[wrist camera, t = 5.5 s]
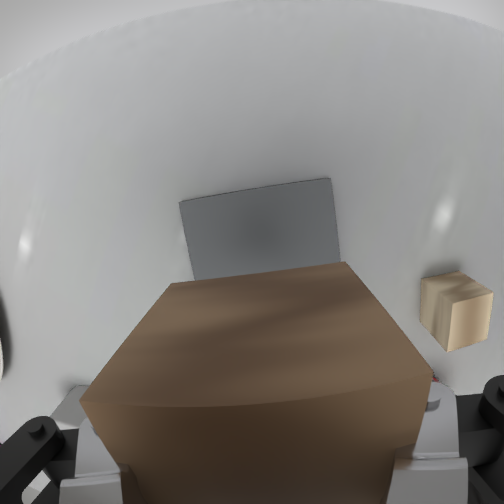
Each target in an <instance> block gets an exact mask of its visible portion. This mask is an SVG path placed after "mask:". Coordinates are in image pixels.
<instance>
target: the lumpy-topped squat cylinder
mask: <svg viewBox="0 0 504 504" xmlns="http://www.w3.org/2000/svg"><path fill="white" fill-rule="evenodd" d="M88 387H89V386H84V385H79V386H76V387H74V388H73V389H72V390H71V391H70V393H69V394H68V395H67V396H66V397H65V399H64V400H63V401H62V402H61V403H60V405H59V406H58V407H57V408H56V409H55V411H54V412H53V413H52V415H51V416H50V417H51V418H52V419H53V420H54V421H55V422H56V424H57V425H58V427H59V429H60V430H66V429H77V428H80V425H81V423H82V422H83V420H84V419H85V418H87V415H86V413H85V411H84V409H83V408H82V406H81V404H80V402H79V399H80V398H81V397H82V395H83V394H84V393H85V391H86V390H87V389H88Z"/></svg>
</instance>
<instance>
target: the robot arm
mask: <svg viewBox="0 0 504 504" xmlns="http://www.w3.org/2000/svg"><path fill="white" fill-rule="evenodd" d="M41 470H43V472H44V473H45V474H46V475H47V476H48V478H49V479H50V480H51V481H50V482H49V483H48V485H47V486H46V487H45V488H44V489H43V490H42V492H41V493H40V494H39V495H38V496H37V498H36V499H35V500H34V501H33V502H32V503H31V504H148V503H147V501H146V500H145V499H144V497H143V495H142V493H141V491H140V488H139V485H138V481H137V476H136V475H135V474H134V472H133V471H132V469H131V468H130V466H129V464H124V463H117V462H115V461H114V460H113V458H112V457H111V455H110V454H109V452H108V451H107V449H106V447H105V446H104V444H103V443H102V441H101V439H100V438H99V436H98V434H97V433H96V431H95V429H94V427H93V426H92V424H91V422H90V420H89V419H88V417H87V418H85V419H84V420H83V422H82V423H81V425H80V428H77V429H66V430H60V429H59V427H58V425H57V424H56V422H55V421H54V420H53V419H52V418H51V417H47V416H39V417H35V418H33V419H31V420H29V421H27V422H26V423H25V424H24V425H23V426H21V427H20V428H19V429H18V430H17V431H16V432H15V433H14V434H13V435H12V436H11V437H10V438H9V439H8V440H6V441H5V442H4V443H3V444H2V445H1V446H0V504H23V502H22V497H21V496H22V492H23V491H24V489H25V488H26V487H27V486H28V485H29V484H30V483H31V482H32V480H33V479H34V478H35V477H36V476H37V475H38V474H39V473H40V472H41ZM468 479H469V480H470V482H471V483H472V484H473V485H474V486H475V488H476V489H477V490H478V491H479V493H480V494H481V495H482V496H483V497H484V499H485V500H486V501H487V502H488V504H504V375H500V376H496V377H493V378H492V379H490V380H489V381H488V382H487V383H486V385H485V387H484V390H483V393H481V394H472V395H460V396H457V395H455V394H454V392H453V391H452V390H451V389H450V388H449V387H448V386H446V385H444V384H442V383H438V382H431V387H430V392H429V396H428V401H427V405H426V409H425V413H424V417H423V421H422V425H421V428H420V432H419V435H418V439H417V442H416V443H413V444H409V445H406V446H402V447H399V448H396V450H395V454H394V458H393V461H392V466H391V471H390V475H389V479H388V483H387V486H386V489H385V492H384V495H383V498H381V500H380V503H379V504H467V499H468Z"/></svg>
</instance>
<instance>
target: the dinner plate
mask: <svg viewBox="0 0 504 504" xmlns="http://www.w3.org/2000/svg"><path fill="white" fill-rule="evenodd" d="M2 374H3V352H2V345H1V340H0V381H1V378H2Z"/></svg>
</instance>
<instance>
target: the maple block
mask: <svg viewBox="0 0 504 504" xmlns="http://www.w3.org/2000/svg"><path fill="white" fill-rule="evenodd" d="M493 293H494V292H492V291H491V290H489V289H488V288H486V287H484V286H483V285H481V284H480V283H478V282H476V281H475V280H473V279H472V278H470V277H468V276H467V275H465V274H463V273H462V272H460V271H456V272H451V273H447V274H442V275H437V276H432V277H427V278H423V279H421V308H420V322H421V323H422V325H423V326H424V327H425V328H426V329H427V330H428V331H429V332H430V333H431V335H432V336H433V337H434V338H435V339H436V340H437V341H438V343H439V344H440V345H441V346H442V347H443V348H444V350H445V351H446V352H450V351H453V350H456V349H459V348H462V347H466V346H469V345H472V344H475V343H477V342H480V341H483V340H486V339H487V334H488V329H489V323H490V316H491V309H492V302H493Z"/></svg>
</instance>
